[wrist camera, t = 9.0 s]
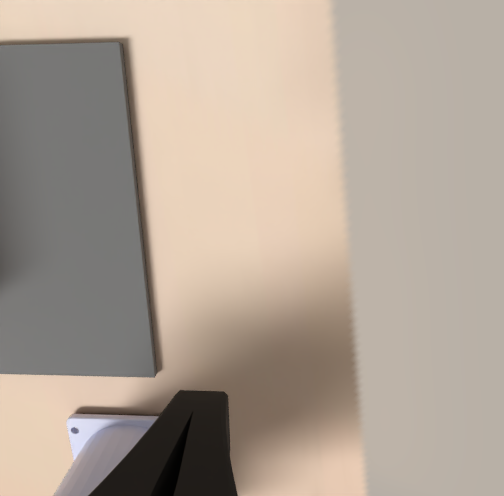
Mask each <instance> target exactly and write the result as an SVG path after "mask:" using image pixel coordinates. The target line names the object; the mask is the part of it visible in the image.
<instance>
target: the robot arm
mask: <svg viewBox="0 0 504 496" xmlns="http://www.w3.org/2000/svg"><path fill="white" fill-rule="evenodd" d="M66 424H67V429H68V434H69V439H70V443H71V448H72V453H73V458H74V462H73V464H72V465H71V467H70V469H69V470H68V472H67V474H66V475H65V477H64V478H63V480H62V482H61V483H60V485H59V487H58V488H57V490H56V492H55V493H54V495H53V496H238V495H237V491H236V486H235V482H234V477H233V472H232V467H231V461H230V432H229V407H228V395H227V394H226V393H225V392H217V391H184V390H180V391H179V392H178V393H177V394H176V395H175V396H174V398H173V399H172V400H171V402H170V403H169V404H168V405H167V407H166V408H165V409H164V411H163V412H162V413H161V414H160V416H133V415H100V414H72V415H70V417H69V418H68V419H67V423H66ZM76 428H77V429H76Z"/></svg>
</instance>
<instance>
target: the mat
mask: <svg viewBox="0 0 504 496" xmlns="http://www.w3.org/2000/svg"><path fill="white" fill-rule="evenodd" d="M0 374H30V375H71V376H113V377H155V376H156V374H157V370H156V360H155V351H154V341H153V331H152V322H151V312H150V303H149V293H148V284H147V274H146V264H145V255H144V245H143V236H142V226H141V217H140V207H139V198H138V188H137V178H136V169H135V159H134V150H133V140H132V131H131V121H130V112H129V102H128V92H127V83H126V73H125V64H124V54H123V45H122V44H121V43H120V42H103V43H65V44H28V45H0Z"/></svg>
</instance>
